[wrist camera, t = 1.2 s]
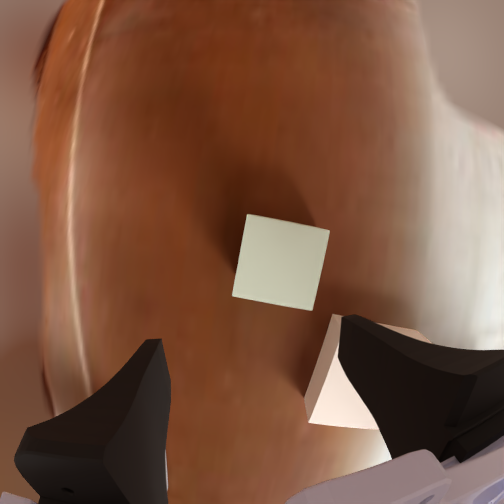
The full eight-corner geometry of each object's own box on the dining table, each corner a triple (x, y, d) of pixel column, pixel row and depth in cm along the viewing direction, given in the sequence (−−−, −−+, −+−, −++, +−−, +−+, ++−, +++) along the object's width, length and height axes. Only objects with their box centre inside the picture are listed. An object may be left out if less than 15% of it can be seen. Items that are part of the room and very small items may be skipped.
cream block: (415, 329, 24) (435, 346, 21) (383, 406, 26) (397, 430, 22) (331, 312, 25) (342, 330, 21) (303, 396, 26) (308, 422, 22)
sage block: (316, 227, 24) (329, 230, 19) (303, 291, 24) (312, 310, 19) (250, 214, 24) (247, 214, 19) (238, 279, 24) (232, 296, 19)
